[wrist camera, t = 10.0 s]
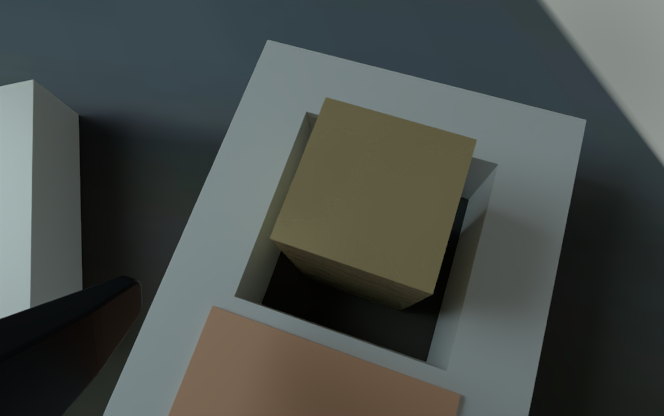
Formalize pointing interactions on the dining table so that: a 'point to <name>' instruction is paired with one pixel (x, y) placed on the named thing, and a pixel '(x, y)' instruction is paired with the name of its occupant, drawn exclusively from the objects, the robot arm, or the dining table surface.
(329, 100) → the gold brass pillar
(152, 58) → the dining table surface
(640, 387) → the dining table surface
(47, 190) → the white rectangular block
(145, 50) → the dining table surface
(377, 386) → the grey box with opening
